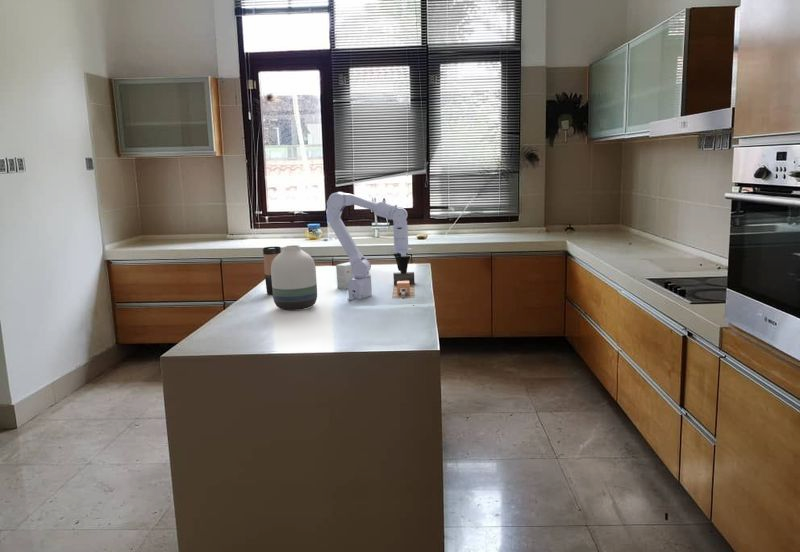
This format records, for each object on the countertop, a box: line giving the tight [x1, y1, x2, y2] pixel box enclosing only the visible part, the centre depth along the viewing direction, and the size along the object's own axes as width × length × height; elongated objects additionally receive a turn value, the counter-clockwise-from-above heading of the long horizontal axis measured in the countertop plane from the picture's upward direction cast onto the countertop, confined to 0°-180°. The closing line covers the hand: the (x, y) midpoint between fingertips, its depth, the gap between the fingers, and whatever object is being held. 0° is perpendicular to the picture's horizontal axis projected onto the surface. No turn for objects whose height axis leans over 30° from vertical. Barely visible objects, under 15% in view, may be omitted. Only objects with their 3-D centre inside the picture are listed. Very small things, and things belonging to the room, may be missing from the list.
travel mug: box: [262, 246, 282, 296], centre depth 278 cm, size 8×8×20 cm
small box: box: [335, 261, 354, 290], centre depth 285 cm, size 8×6×10 cm
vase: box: [271, 244, 318, 311], centre depth 246 cm, size 17×17×24 cm
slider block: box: [397, 281, 410, 295], centre depth 261 cm, size 6×5×4 cm
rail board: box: [391, 271, 416, 300], centre depth 267 cm, size 32×9×6 cm, turn 179°
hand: (402, 272), depth 257 cm, fingers open, 7 cm apart
